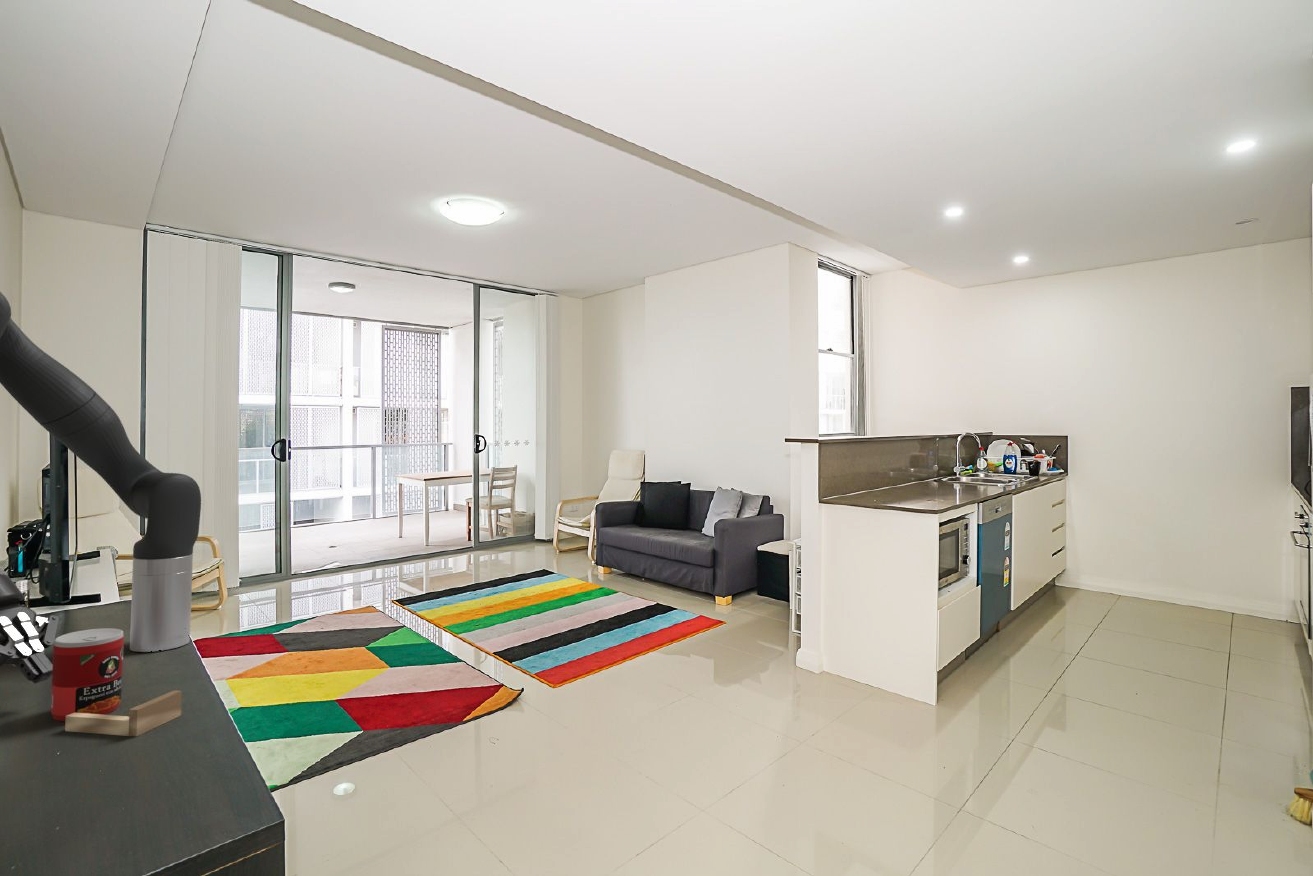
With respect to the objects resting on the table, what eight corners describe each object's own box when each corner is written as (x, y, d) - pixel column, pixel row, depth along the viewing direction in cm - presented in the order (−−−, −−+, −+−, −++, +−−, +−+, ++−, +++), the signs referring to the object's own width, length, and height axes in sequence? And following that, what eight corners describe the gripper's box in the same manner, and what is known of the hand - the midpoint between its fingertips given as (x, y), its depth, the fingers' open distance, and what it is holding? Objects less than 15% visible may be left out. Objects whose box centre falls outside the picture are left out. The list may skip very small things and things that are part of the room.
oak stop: (65, 731, 87) (66, 704, 87) (114, 710, 94) (115, 686, 94) (136, 736, 86) (137, 710, 86) (181, 715, 93) (181, 690, 93)
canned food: (80, 725, 89) (83, 644, 90) (35, 719, 91) (38, 640, 91) (135, 704, 97) (138, 630, 97) (92, 699, 98) (95, 626, 99)
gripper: (-63, 582, 90) (11, 676, 88) (39, 565, 103) (105, 647, 101) (-97, 618, 90) (-24, 713, 88) (8, 597, 103) (74, 679, 102)
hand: (45, 678), depth 95 cm, fingers closed
